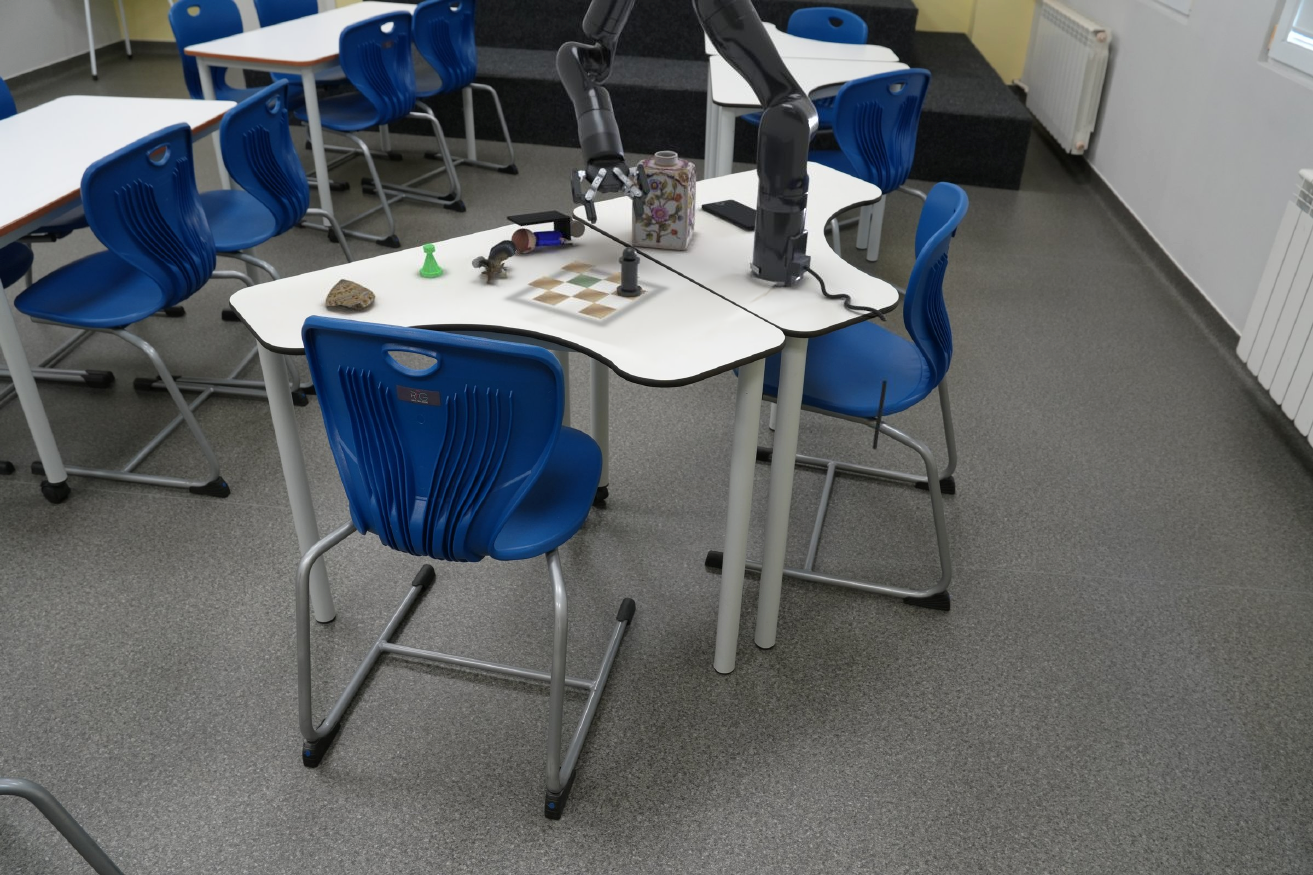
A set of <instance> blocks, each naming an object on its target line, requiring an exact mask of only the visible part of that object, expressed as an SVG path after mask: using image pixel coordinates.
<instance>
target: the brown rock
mask: <svg viewBox="0 0 1313 875" xmlns="http://www.w3.org/2000/svg"><path fill="white" fill-rule="evenodd" d="M376 297H377V296H376V294H375V292H373V291H372V290H371V289H369V288H368V287H365V286H363V285H362V284H359V283H357V282H355V281H354V280H349V279H345V278H341V279H340V280H338V281H337V282H336V283H335V284H334V285H333V287H332V288H331V289H330V290H329V292H328V293H327V295H326V297H325V306H326V307H335V306H343V307H347V308H349V309H356V310H357V309H363V308H366V307H368V306H369V305H370V304H371V303H372V302H373V301H375V300H376Z"/></svg>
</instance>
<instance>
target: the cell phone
mask: <svg viewBox="0 0 1313 875" xmlns="http://www.w3.org/2000/svg"><path fill="white" fill-rule="evenodd" d="M701 209H702V210H704V211H706V212H708V213H711V214H713V215H714V216H717V217H719V218H722V219H723V220H725V221H727V222H730V223H731V224H734V225H736V226H738V227H740V228H742V229H744V230H746V231H755V220H756V208H752V207H750V206H748V205H745V204H743V203H741V202H739V201H737V200H734V199H726V200H721V201H715V202H709V203H703V204H701Z"/></svg>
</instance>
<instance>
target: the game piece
mask: <svg viewBox="0 0 1313 875" xmlns="http://www.w3.org/2000/svg"><path fill="white" fill-rule="evenodd" d="M422 249H423V253H425V254H426V256H425V259H424V262H423V265H422V267H421V268H419V274H420V276H421V277H424V278H428V279H430V278H437V277H440V276H442V275H443V274H444V271H443V268H442V267H441V266H439V264H438V262H437V260H436V258H435V255H434V253H435V252H436V246H435V244H433V243H430V242H429V243H426V244H424V245H422Z"/></svg>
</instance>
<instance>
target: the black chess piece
mask: <svg viewBox="0 0 1313 875" xmlns="http://www.w3.org/2000/svg"><path fill="white" fill-rule="evenodd" d="M621 253H622V255H621V256H620V257H619V258H618V263H619V264H620V272H621V284H619V285H618V286H617V287H616V290H617V294H618V295H620V296H623V297H636V296H639V295H641V294H642V290H643V287H641V285H639V284H638V283H639V282H638V281H639V278H638V277H639V264H641V258H640V257H639V256H638V253H637V250H636V249H635V248H634V247H633V246H632V247H631V246H627V247H625V248H624V249H623V251H622V252H621ZM620 296H619V297H620ZM641 296H642V295H641ZM623 297H622V298H623ZM639 297H640V296H639Z"/></svg>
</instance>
